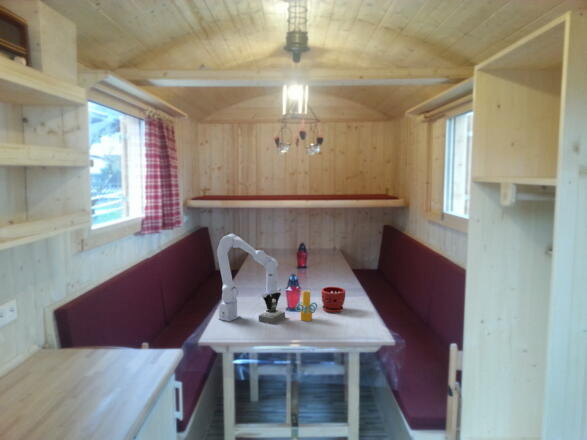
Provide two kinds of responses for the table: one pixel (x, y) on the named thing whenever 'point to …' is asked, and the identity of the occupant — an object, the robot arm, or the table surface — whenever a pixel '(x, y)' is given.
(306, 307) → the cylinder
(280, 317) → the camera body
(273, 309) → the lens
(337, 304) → the plant pot
